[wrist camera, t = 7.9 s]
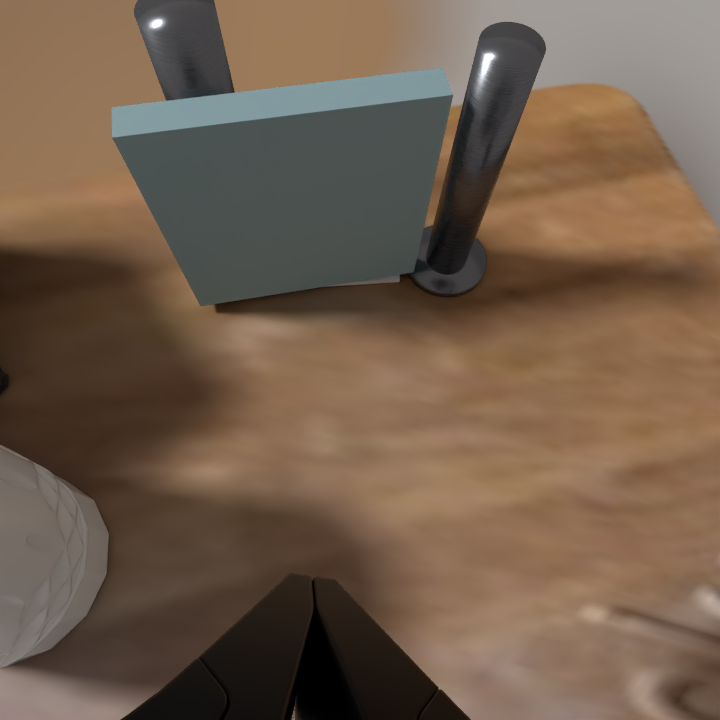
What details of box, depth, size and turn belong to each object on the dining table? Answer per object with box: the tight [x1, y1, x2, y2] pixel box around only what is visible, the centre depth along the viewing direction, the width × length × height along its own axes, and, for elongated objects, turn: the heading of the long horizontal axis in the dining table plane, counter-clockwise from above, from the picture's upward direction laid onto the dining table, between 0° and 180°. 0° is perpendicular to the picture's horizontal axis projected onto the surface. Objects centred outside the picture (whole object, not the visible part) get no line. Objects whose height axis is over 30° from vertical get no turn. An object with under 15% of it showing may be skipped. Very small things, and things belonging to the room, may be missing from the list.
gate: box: [112, 68, 453, 306], centre depth 20 cm, size 10×1×10 cm, turn 101°
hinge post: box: [408, 22, 546, 297], centre depth 21 cm, size 4×4×12 cm
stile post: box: [134, 0, 235, 101], centre depth 21 cm, size 3×3×12 cm
